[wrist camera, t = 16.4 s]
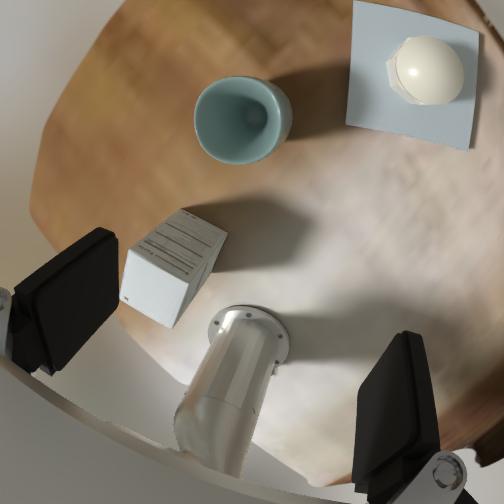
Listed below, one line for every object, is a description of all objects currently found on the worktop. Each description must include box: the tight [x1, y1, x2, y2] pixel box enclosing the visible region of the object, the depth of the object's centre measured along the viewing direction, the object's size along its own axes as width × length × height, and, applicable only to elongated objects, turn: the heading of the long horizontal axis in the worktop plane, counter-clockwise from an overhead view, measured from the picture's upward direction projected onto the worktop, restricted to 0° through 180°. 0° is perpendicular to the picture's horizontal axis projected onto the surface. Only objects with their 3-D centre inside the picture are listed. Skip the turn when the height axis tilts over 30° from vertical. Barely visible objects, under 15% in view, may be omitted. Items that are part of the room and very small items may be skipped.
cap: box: [386, 36, 464, 105], centre depth 23 cm, size 6×6×6 cm
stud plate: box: [345, 1, 479, 151], centre depth 25 cm, size 14×14×6 cm
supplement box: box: [119, 209, 228, 329], centre depth 38 cm, size 7×7×13 cm
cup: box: [194, 76, 293, 165], centre depth 29 cm, size 8×8×10 cm
